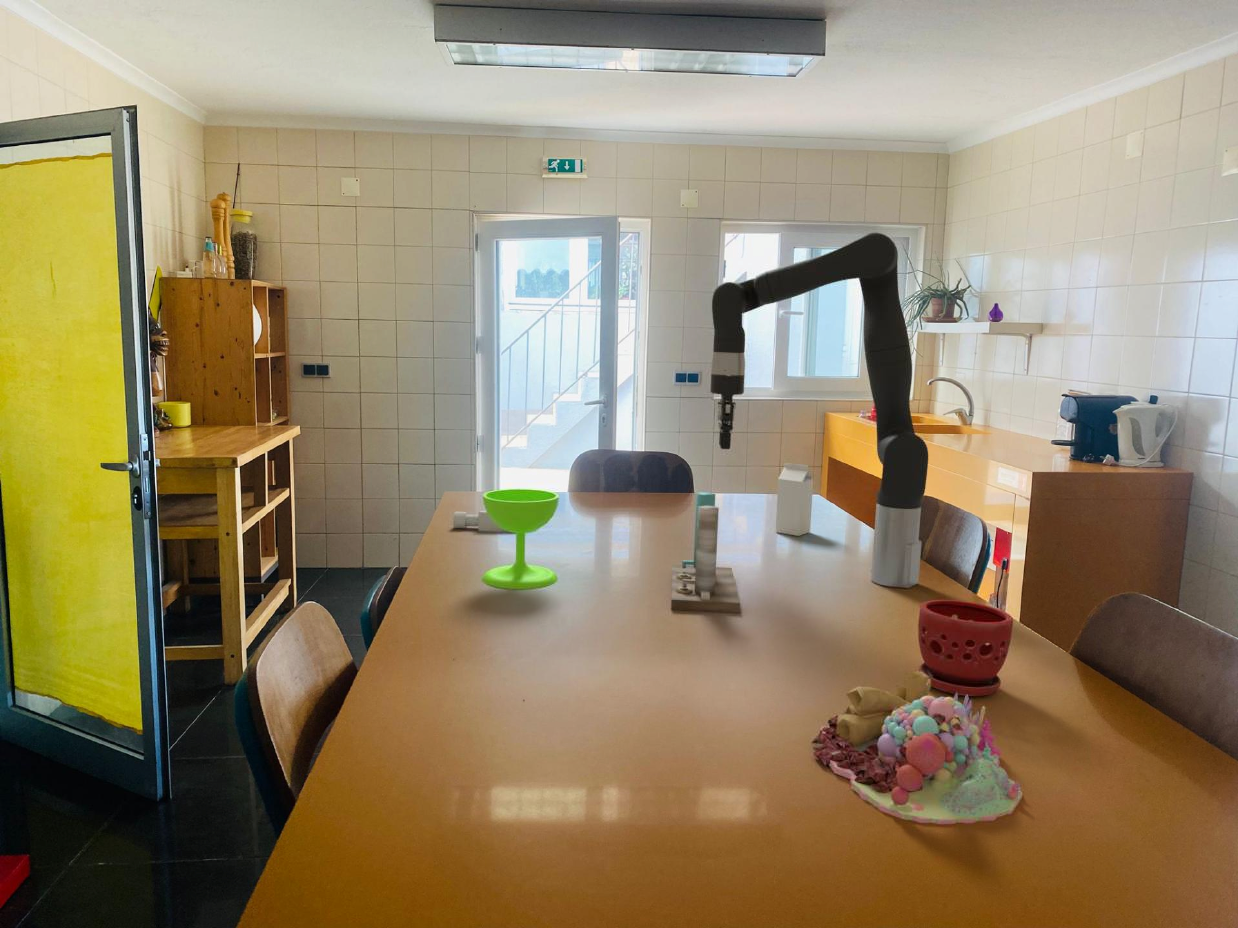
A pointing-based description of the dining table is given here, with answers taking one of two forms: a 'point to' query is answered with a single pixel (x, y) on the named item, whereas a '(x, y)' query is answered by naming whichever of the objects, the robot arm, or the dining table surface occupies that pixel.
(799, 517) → the milk carton
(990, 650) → the plant pot
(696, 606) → the gauge board
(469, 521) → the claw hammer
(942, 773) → the pastel sphere sculpture
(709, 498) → the teal lever handle
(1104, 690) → the dining table surface
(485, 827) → the dining table surface
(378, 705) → the dining table surface
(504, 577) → the wineglass
